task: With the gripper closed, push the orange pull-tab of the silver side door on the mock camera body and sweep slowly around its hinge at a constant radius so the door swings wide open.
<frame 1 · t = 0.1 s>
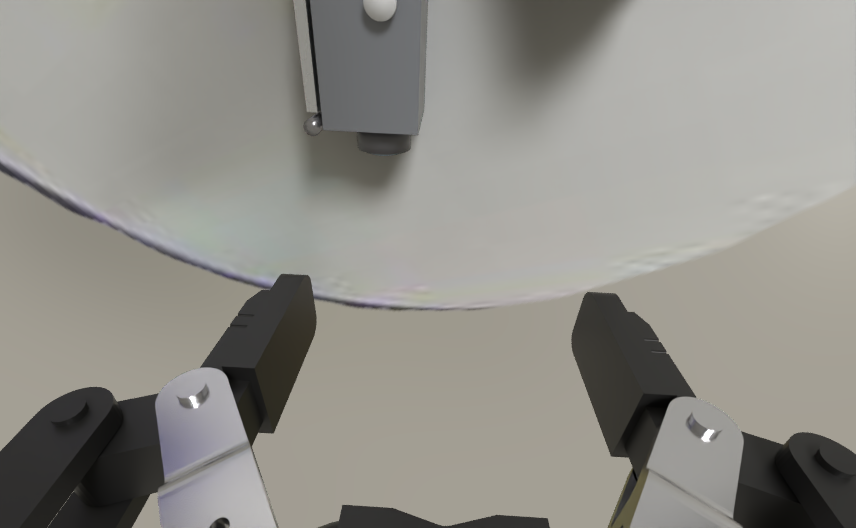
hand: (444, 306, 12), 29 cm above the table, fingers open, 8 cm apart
camera body: (385, 46, 34), on the table
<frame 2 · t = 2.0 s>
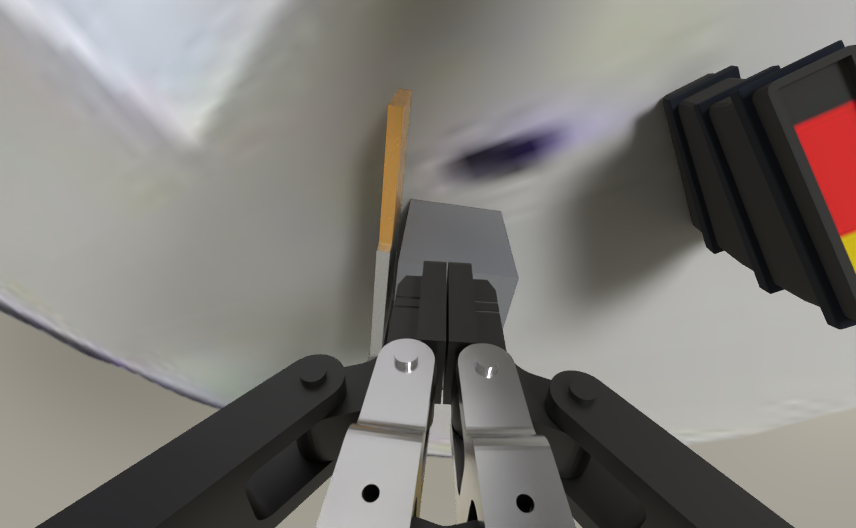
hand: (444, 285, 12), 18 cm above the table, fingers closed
black ribbed block: (695, 141, 27), on the table
side door: (389, 241, 27), point 5 cm above the table, hinge at 0.0°
camera body: (446, 259, 33), on the table
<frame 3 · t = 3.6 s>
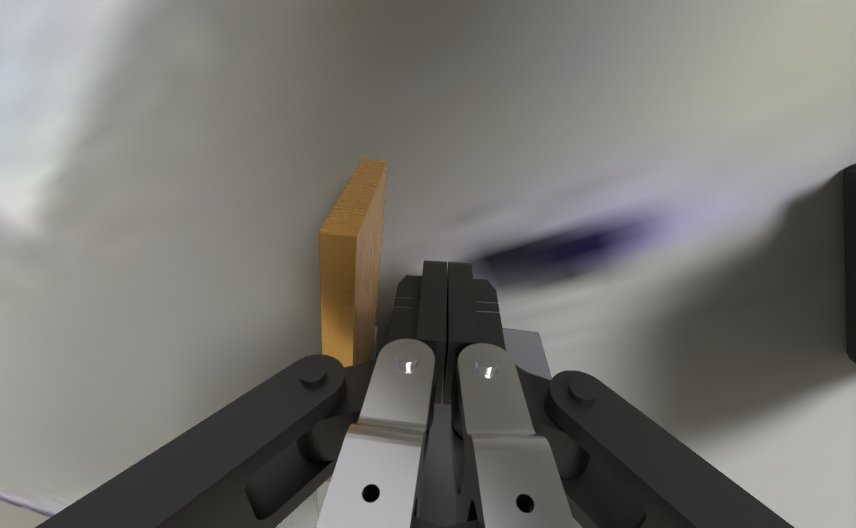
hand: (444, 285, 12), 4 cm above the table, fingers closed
side door: (352, 410, 15), point 5 cm above the table, hinge at 0.2°, touching gripper
camera body: (450, 392, 21), on the table
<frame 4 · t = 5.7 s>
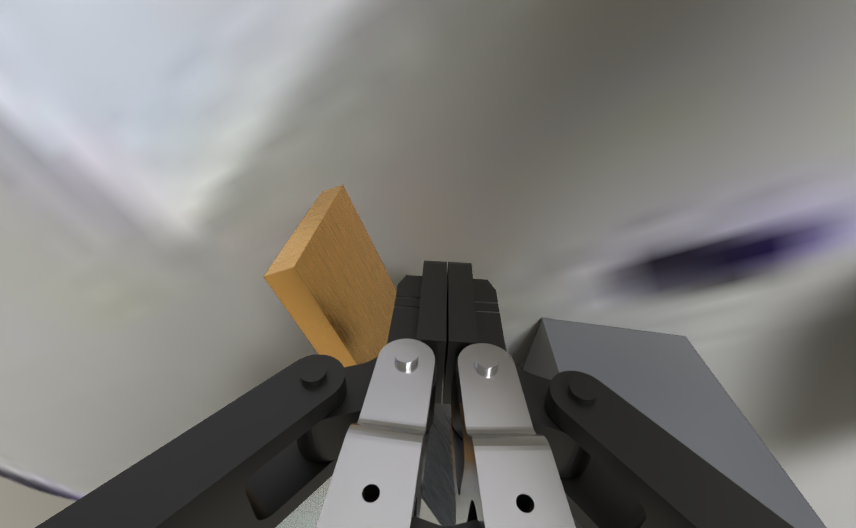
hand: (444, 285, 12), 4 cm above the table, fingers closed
side door: (425, 419, 16), point 5 cm above the table, hinge at 27.7°, touching gripper
camera body: (578, 395, 21), on the table
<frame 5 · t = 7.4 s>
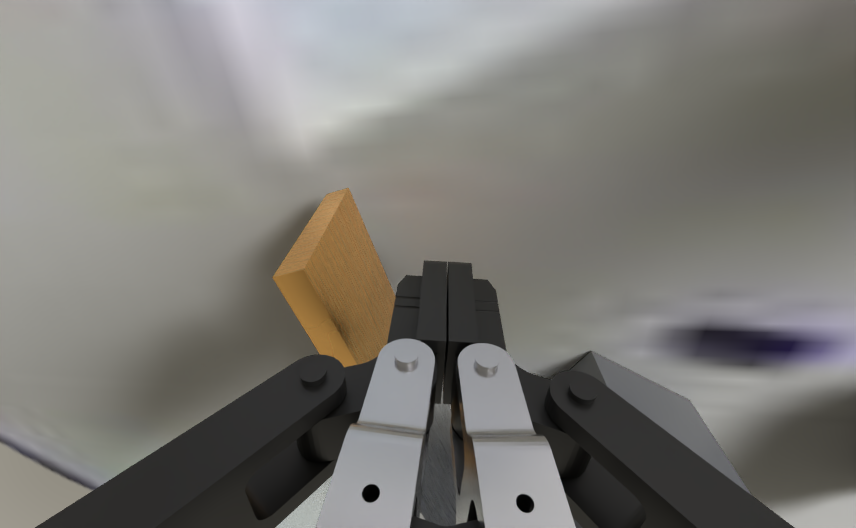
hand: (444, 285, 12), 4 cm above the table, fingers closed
side door: (417, 424, 16), point 5 cm above the table, hinge at 46.9°, touching gripper
camera body: (577, 427, 23), on the table
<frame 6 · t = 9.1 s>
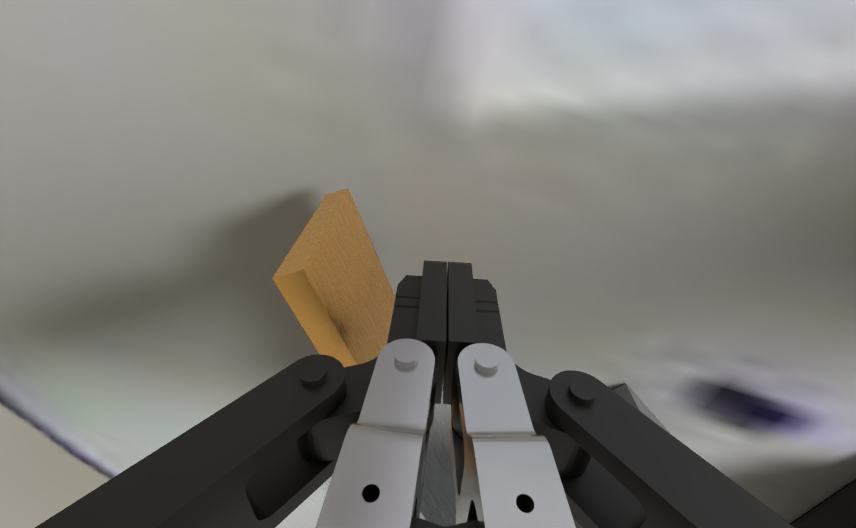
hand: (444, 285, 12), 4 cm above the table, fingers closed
side door: (417, 424, 16), point 5 cm above the table, hinge at 65.8°, touching gripper
camera body: (575, 449, 24), on the table
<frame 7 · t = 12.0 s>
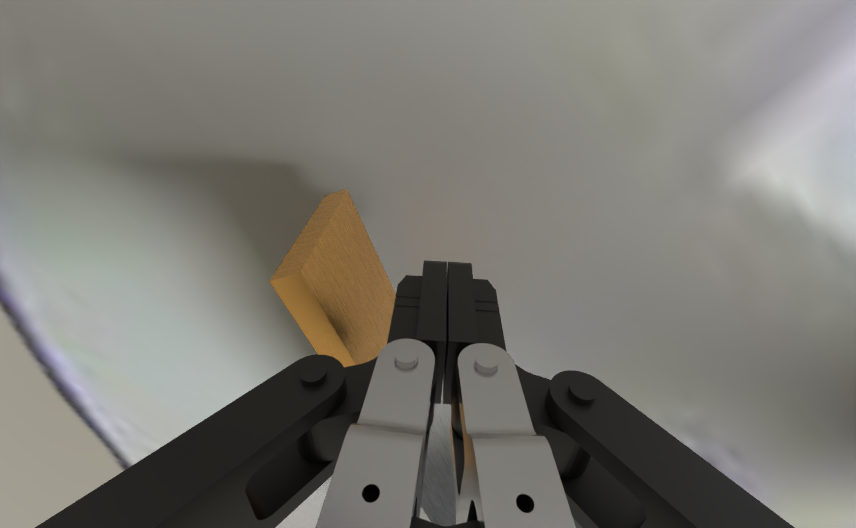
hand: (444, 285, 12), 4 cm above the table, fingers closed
side door: (421, 423, 16), point 4 cm above the table, hinge at 96.5°, touching gripper
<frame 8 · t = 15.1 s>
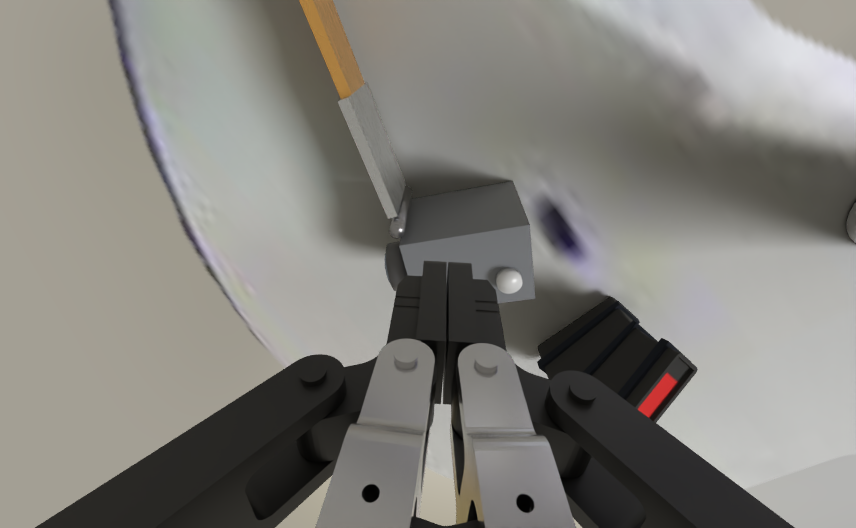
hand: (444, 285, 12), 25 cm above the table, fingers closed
black ribbed block: (587, 322, 46), on the table
side door: (360, 108, 29), point 5 cm above the table, hinge at 96.9°
camera body: (465, 222, 39), on the table
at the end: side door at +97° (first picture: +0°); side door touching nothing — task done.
